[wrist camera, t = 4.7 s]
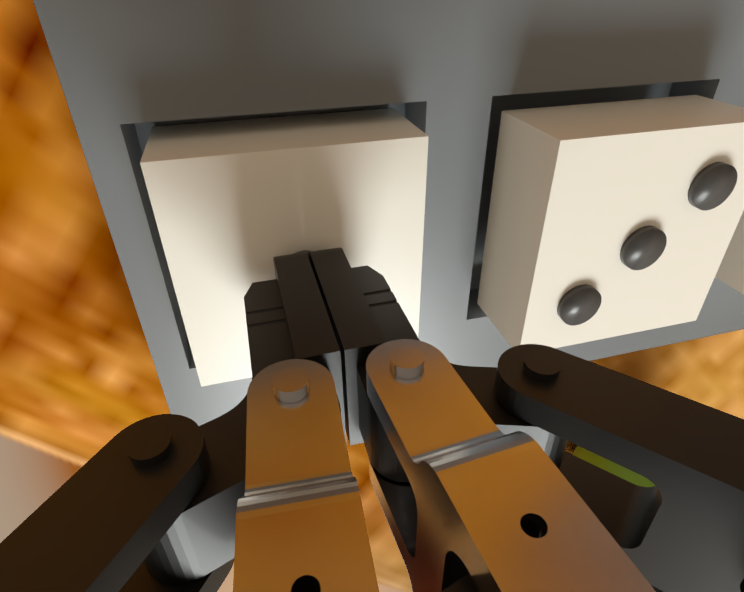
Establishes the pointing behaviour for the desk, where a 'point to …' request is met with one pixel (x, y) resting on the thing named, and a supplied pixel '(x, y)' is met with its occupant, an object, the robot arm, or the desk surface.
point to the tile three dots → (609, 216)
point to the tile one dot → (282, 212)
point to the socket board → (368, 92)
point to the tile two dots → (734, 260)
